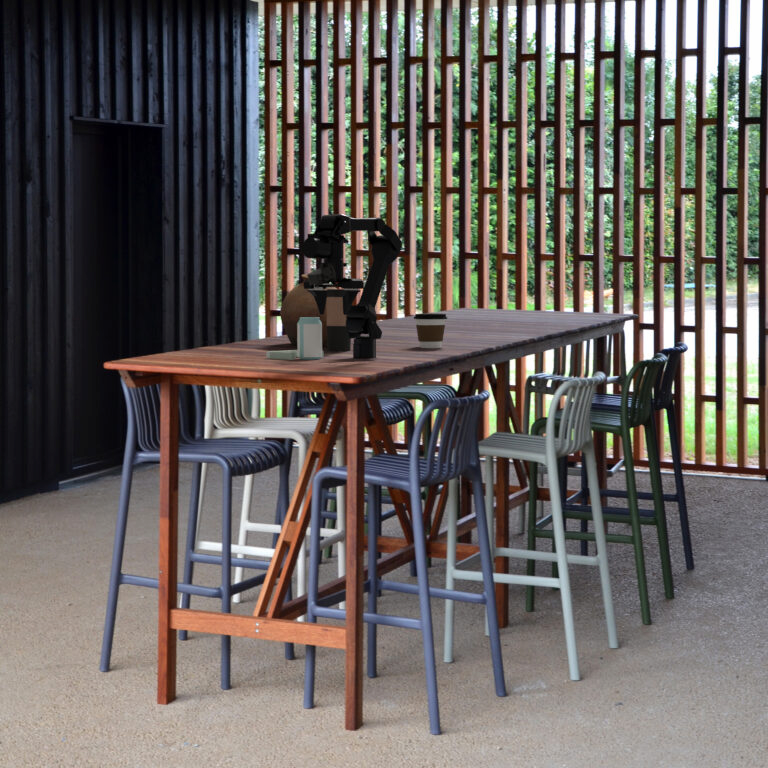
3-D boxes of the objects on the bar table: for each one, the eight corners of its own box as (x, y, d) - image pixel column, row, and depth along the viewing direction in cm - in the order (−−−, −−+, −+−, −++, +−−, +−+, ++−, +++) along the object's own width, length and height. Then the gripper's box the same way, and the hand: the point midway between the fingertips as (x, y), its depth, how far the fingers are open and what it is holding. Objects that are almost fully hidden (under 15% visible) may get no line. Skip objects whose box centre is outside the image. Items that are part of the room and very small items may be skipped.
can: (309, 358, 369) (309, 316, 368) (327, 358, 365) (326, 317, 364) (292, 359, 364) (292, 317, 363) (310, 360, 359) (310, 317, 358)
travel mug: (321, 353, 396) (321, 289, 394) (341, 352, 401) (340, 289, 399) (336, 354, 390) (336, 289, 388) (356, 353, 395) (356, 289, 393)
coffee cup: (444, 352, 402) (444, 314, 401) (410, 351, 404) (410, 314, 403) (449, 350, 412) (449, 313, 411) (416, 350, 415) (416, 313, 414)
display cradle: (298, 356, 377) (298, 349, 377) (323, 357, 370) (323, 351, 370) (266, 358, 367) (266, 351, 367) (291, 359, 360) (291, 352, 360)
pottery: (309, 348, 428) (309, 274, 426) (365, 350, 415) (365, 273, 413) (266, 351, 409) (265, 273, 407) (323, 353, 396) (323, 273, 394)
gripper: (289, 259, 356) (289, 314, 357) (337, 258, 344) (337, 315, 345) (317, 260, 364) (317, 314, 365) (365, 259, 352) (365, 315, 353)
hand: (333, 314), depth 357 cm, fingers open, 9 cm apart
